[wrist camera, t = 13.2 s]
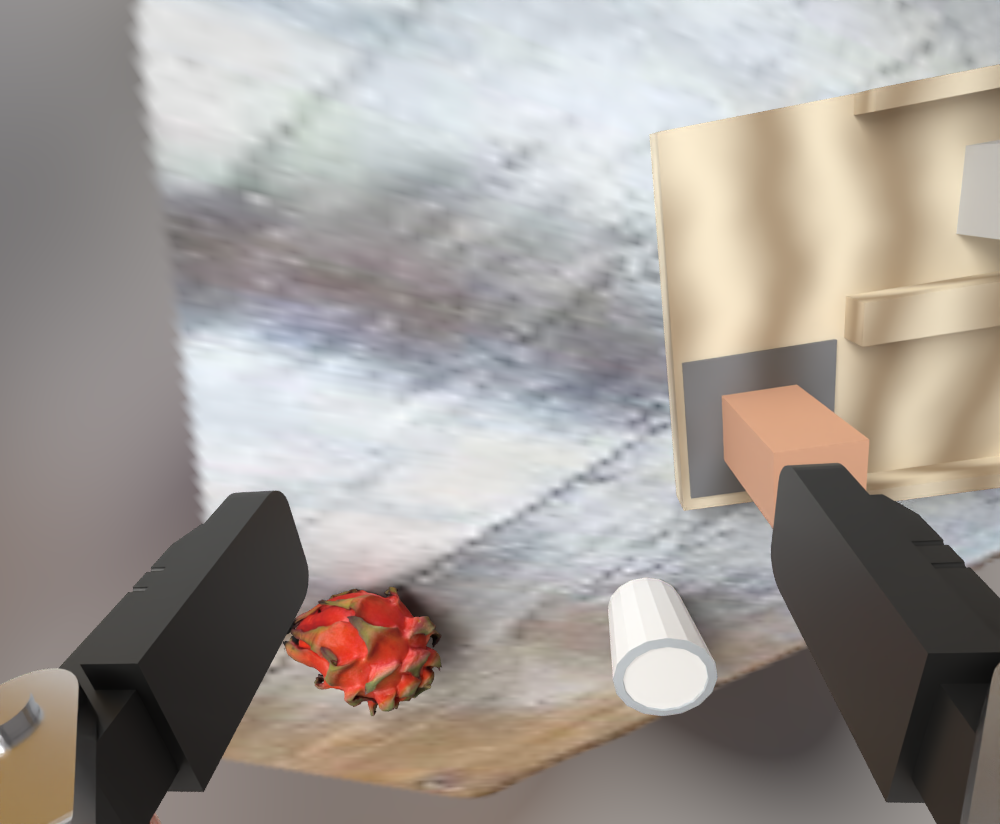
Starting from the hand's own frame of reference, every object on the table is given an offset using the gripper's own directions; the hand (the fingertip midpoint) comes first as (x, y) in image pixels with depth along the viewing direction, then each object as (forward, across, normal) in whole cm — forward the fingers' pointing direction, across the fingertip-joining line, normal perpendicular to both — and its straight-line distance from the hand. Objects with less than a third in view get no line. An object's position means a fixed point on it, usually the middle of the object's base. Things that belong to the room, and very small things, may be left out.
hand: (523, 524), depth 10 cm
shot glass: (+27, -6, +28) cm, 40 cm away
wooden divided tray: (+29, -19, +6) cm, 35 cm away
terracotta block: (+26, -13, +12) cm, 31 cm away
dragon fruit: (+26, +15, +27) cm, 41 cm away
